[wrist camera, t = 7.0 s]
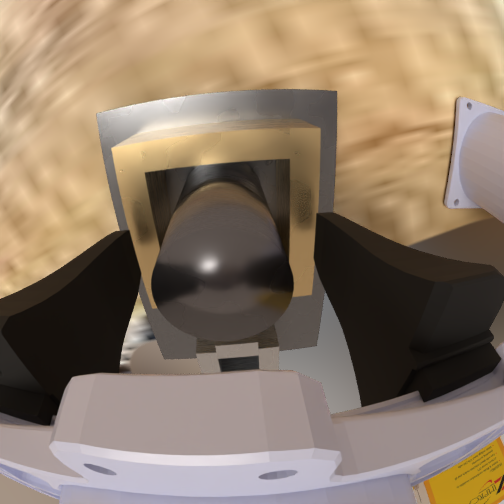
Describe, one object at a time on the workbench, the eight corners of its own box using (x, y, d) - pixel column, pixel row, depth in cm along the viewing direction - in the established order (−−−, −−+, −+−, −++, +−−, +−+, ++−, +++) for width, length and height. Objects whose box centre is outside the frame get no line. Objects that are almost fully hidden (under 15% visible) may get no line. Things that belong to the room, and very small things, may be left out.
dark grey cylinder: (262, 155, 14) (300, 225, 7) (260, 227, 16) (287, 337, 9) (181, 158, 14) (139, 230, 7) (186, 230, 16) (164, 341, 9)
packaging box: (459, 416, 46) (492, 496, 25) (398, 447, 48) (426, 533, 27) (475, 387, 38) (521, 486, 17) (403, 427, 40) (440, 537, 19)
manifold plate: (330, 90, 13) (368, 94, 10) (313, 336, 23) (327, 381, 19) (103, 111, 13) (63, 123, 9) (165, 349, 22) (159, 396, 18)
